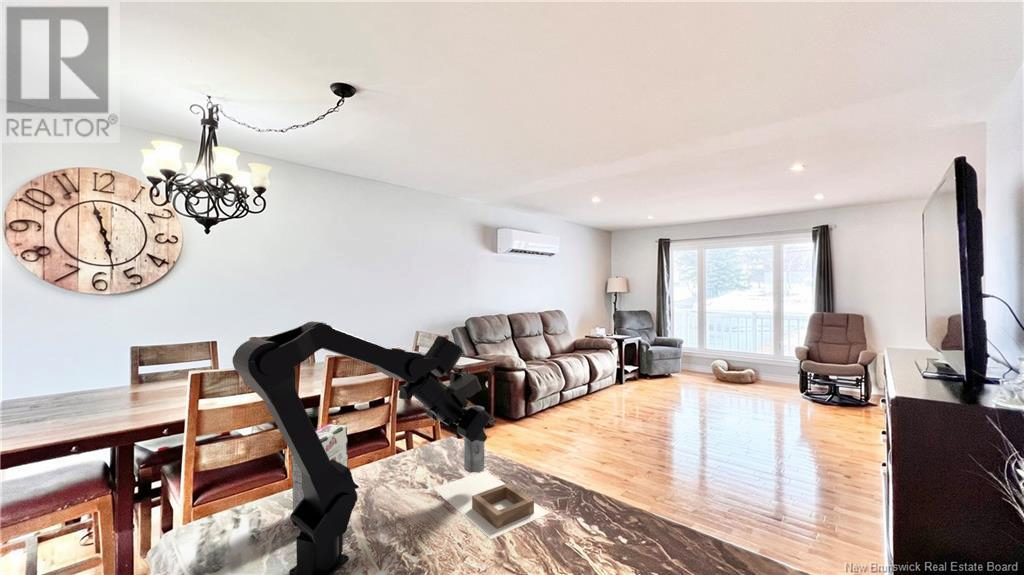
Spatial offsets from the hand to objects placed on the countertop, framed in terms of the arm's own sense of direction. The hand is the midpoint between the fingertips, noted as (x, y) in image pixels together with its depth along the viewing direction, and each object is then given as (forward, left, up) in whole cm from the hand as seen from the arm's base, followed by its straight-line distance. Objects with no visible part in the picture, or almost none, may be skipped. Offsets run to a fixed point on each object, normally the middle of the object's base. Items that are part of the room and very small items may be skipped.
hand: (479, 436), depth 91 cm
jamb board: (-4, -4, -12) cm, 14 cm away
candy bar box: (-19, +26, -13) cm, 35 cm away
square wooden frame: (-7, -8, -11) cm, 16 cm away
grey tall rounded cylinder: (-1, +1, -7) cm, 7 cm away
